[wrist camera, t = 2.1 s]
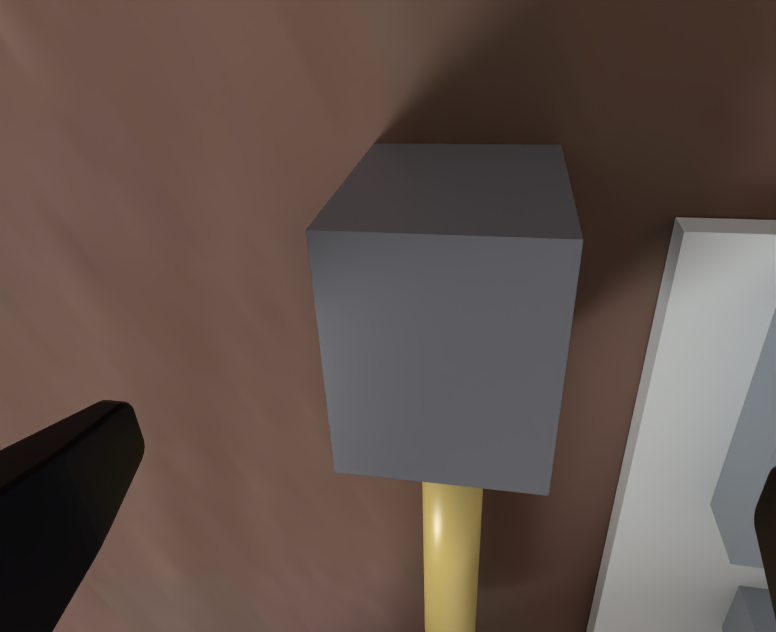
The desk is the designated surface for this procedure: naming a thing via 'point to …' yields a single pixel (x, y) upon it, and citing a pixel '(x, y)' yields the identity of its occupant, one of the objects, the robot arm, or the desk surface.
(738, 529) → the board
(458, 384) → the plug
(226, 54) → the desk surface
